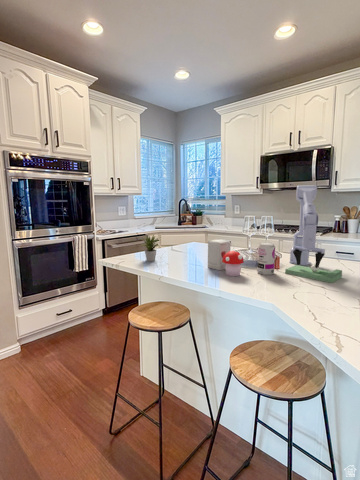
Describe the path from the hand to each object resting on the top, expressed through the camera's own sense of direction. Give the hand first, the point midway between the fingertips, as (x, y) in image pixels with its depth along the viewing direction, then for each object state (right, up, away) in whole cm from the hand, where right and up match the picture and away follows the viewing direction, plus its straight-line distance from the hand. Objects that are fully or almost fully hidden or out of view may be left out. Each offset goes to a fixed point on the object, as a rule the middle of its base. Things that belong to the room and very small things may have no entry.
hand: (307, 266), depth 135 cm
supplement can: (-20, -4, +4) cm, 20 cm away
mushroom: (-37, -5, +2) cm, 37 cm away
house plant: (-80, 0, +32) cm, 87 cm away
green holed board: (+2, -4, -1) cm, 5 cm away
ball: (+2, -1, -2) cm, 3 cm away
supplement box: (-42, -3, +15) cm, 44 cm away
